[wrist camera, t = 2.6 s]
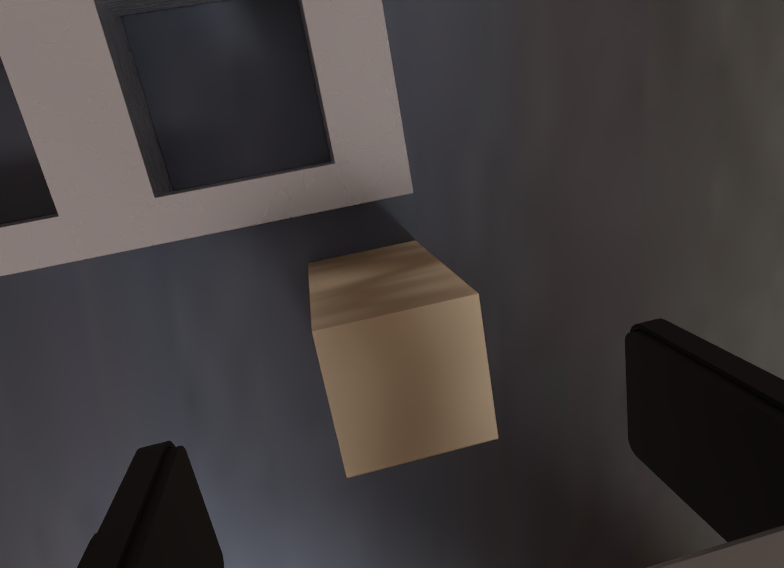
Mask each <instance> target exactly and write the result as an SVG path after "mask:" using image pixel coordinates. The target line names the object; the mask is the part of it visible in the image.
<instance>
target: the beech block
mask: <svg viewBox="0 0 784 568" xmlns="http://www.w3.org/2000/svg"><path fill="white" fill-rule="evenodd" d="M308 276H309V293H310V310H311V328H312V335H313V339H314V343H315V347H316V351H317V356H318V360H319V364H320V368H321V372H322V377H323V381H324V385H325V389H326V393H327V397H328V402H329V406H330V410H331V414H332V418H333V422H334V427H335V431H336V435H337V439H338V443H339V447H340V452H341V456H342V460H343V464H344V468H345V473H346V477H347V478H350V477H353V476H357V475H361V474H365V473H369V472H372V471H376V470H380V469H384V468H388V467H392V466H395V465H399V464H403V463H407V462H411V461H414V460H418V459H422V458H426V457H430V456H434V455H437V454H441V453H445V452H449V451H453V450H456V449H460V448H464V447H468V446H472V445H475V444H479V443H483V442H487V441H491V440H495V439H498V432H497V424H496V417H495V410H494V402H493V395H492V388H491V380H490V373H489V366H488V358H487V351H486V344H485V336H484V329H483V322H482V314H481V307H480V300H479V293H477V292H476V291H475V290H474V289H473V288H471V287H470V286H469V285H468V284H467V283H465V282H464V281H463V280H462V279H461V278H460V277H458V276H457V275H456V274H455V273H454V272H452V271H451V270H450V269H449V268H448V267H447V266H445V265H444V264H443V263H442V262H441V261H439V260H438V259H437V258H436V257H435V256H433V255H432V254H431V253H430V252H429V251H428V250H426V249H425V248H424V247H423V246H422V245H420V244H419V243H418V242H417V241H416V240H415V241H410V242H405V243H401V244H396V245H391V246H387V247H382V248H377V249H373V250H368V251H363V252H358V253H354V254H349V255H344V256H340V257H335V258H330V259H325V260H321V261H316V262H311V263H308Z"/></svg>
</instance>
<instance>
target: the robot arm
mask: <svg viewBox="0 0 784 568" xmlns="http://www.w3.org/2000/svg"><path fill="white" fill-rule="evenodd" d="M625 356H626V385H627V414H628V439H629V444H630V447H631V449H632V451H633V452H634V454H635V455H636V456H637V457H638V458H639V459H640V460H641V461H642V462H643V463H644V464H645V465H646V466H647V467H648V468H649V469H650V470H652V471H653V472H654V473H655V474H656V475H657V476H658V477H659V478H660V479H661V480H662V481H663V482H664V483H665V484H666V485H667V486H669V487H670V488H671V489H672V490H673V491H674V492H675V493H676V494H677V495H678V496H679V497H680V498H681V499H682V500H683V501H684V502H685V503H687V504H688V505H689V506H690V507H691V508H692V509H693V510H694V511H695V512H696V513H697V514H698V515H699V516H700V517H701V518H702V519H703V520H705V521H706V522H707V523H708V524H709V525H710V526H711V527H712V528H713V529H714V530H715V531H716V532H717V533H718V534H719V535H720V536H722V537H723V538H724V539H725V540H726V541H727V542H728V543H725V544H721V545H718V546H715V547H712V548H708V549H705V550H702V551H699V552H695V553H692V554H689V555H686V556H682V557H679V558H676V559H673V560H669V561H666V562H663V563H659V564H656V565H653V566H650V567H646V568H784V380H783V379H781V378H779V377H777V376H775V375H773V374H771V373H769V372H767V371H765V370H763V369H761V368H759V367H757V366H755V365H753V364H751V363H749V362H747V361H745V360H743V359H741V358H739V357H737V356H735V355H733V354H731V353H729V352H727V351H725V350H723V349H721V348H719V347H718V346H716V345H714V344H712V343H710V342H708V341H706V340H704V339H702V338H700V337H698V336H696V335H694V334H692V333H690V332H688V331H686V330H684V329H682V328H680V327H678V326H676V325H674V324H672V323H670V322H668V321H666V320H664V319H661V318H660V319H655V320H651V321H647V322H643V323H639V324H635V325H634V326H633V327H632V328H631V331H630V333H628V334H627V335H626V337H625ZM77 568H224V561H223V555H222V552H221V549H220V546H219V543H218V540H217V537H216V534H215V532H214V529H213V526H212V523H211V520H210V517H209V514H208V512H207V509H206V506H205V503H204V500H203V497H202V495H201V492H200V489H199V486H198V483H197V480H196V478H195V475H194V472H193V469H192V466H191V463H190V460H189V458H188V455H187V452H186V450H185V448H184V447H183V446H178V447H175V445H174V444H173V443H172V442H171V441H167V442H163V443H159V444H155V445H151V446H147V447H143V448H139V449H138V450H137V452H136V454H135V456H134V458H133V460H132V462H131V464H130V466H129V468H128V470H127V472H126V474H125V476H124V478H123V481H122V483H121V485H120V487H119V489H118V491H117V493H116V495H115V497H114V499H113V501H112V503H111V506H110V508H109V510H108V512H107V514H106V516H105V518H104V520H103V522H102V524H101V526H100V528H99V530H98V532H97V533H96V534H94V536H93V537H92V539H91V540H90V542H89V544H88V546H87V548H86V550H85V552H84V554H83V557H82V559H81V561H80V563H79V565H78V567H77Z"/></svg>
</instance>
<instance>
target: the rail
mask: <svg viewBox="0 0 784 568" xmlns="http://www.w3.org/2000/svg"><path fill="white" fill-rule="evenodd" d="M216 1H222V0H0V56H1V59H2V62H3V65H4V67H5V70H6V73H7V76H8V78H9V81H10V84H11V87H12V89H13V92H14V95H15V97H16V100H17V103H18V106H19V108H20V111H21V114H22V117H23V119H24V122H25V125H26V128H27V130H28V133H29V136H30V138H31V141H32V144H33V147H34V149H35V152H36V155H37V158H38V160H39V163H40V166H41V169H42V171H43V174H44V177H45V180H46V182H47V185H48V188H49V190H50V193H51V196H52V199H53V201H54V204H55V207H56V210H57V212H58V213H57V214H52V215H47V216H41V217H36V218H31V219H26V220H20V221H15V222H10V223H5V224H0V276H4V275H9V274H14V273H19V272H24V271H29V270H34V269H39V268H44V267H49V266H54V265H59V264H64V263H69V262H74V261H79V260H84V259H89V258H94V257H99V256H104V255H108V254H113V253H118V252H123V251H128V250H133V249H138V248H143V247H148V246H153V245H158V244H163V243H168V242H173V241H178V240H183V239H188V238H193V237H198V236H203V235H208V234H213V233H218V232H223V231H228V230H233V229H238V228H242V227H247V226H252V225H257V224H262V223H267V222H272V221H277V220H282V219H287V218H292V217H297V216H302V215H307V214H312V213H317V212H322V211H327V210H332V209H337V208H342V207H347V206H352V205H357V204H362V203H367V202H372V201H377V200H381V199H386V198H391V197H396V196H401V195H406V194H411V193H413V187H412V181H411V175H410V169H409V163H408V157H407V151H406V145H405V139H404V133H403V126H402V120H401V114H400V108H399V102H398V96H397V90H396V84H395V78H394V72H393V66H392V60H391V54H390V47H389V41H388V35H387V29H386V23H385V17H384V11H383V5H382V0H298V3H299V8H300V13H301V18H302V23H303V27H304V32H305V37H306V42H307V47H308V52H309V56H310V61H311V66H312V71H313V76H314V81H315V86H316V90H317V95H318V100H319V105H320V110H321V115H322V119H323V124H324V129H325V134H326V139H327V144H328V148H329V153H330V158H331V161H330V162H324V163H319V164H314V165H309V166H303V167H298V168H293V169H288V170H282V171H277V172H272V173H267V174H262V175H256V176H251V177H246V178H241V179H235V180H230V181H225V182H220V183H214V184H209V185H204V186H199V187H193V188H188V189H183V190H178V191H172V187H171V184H170V181H169V177H168V174H167V170H166V167H165V164H164V160H163V157H162V154H161V150H160V147H159V144H158V140H157V137H156V134H155V130H154V127H153V123H152V120H151V117H150V113H149V110H148V107H147V103H146V100H145V97H144V93H143V90H142V86H141V83H140V80H139V76H138V73H137V70H136V66H135V63H134V60H133V56H132V53H131V49H130V46H129V43H128V39H127V36H126V33H125V29H124V26H123V23H122V19H121V16H124V15H130V14H137V13H143V12H150V11H156V10H163V9H170V8H176V7H183V6H189V5H196V4H202V3H209V2H216Z"/></svg>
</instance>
